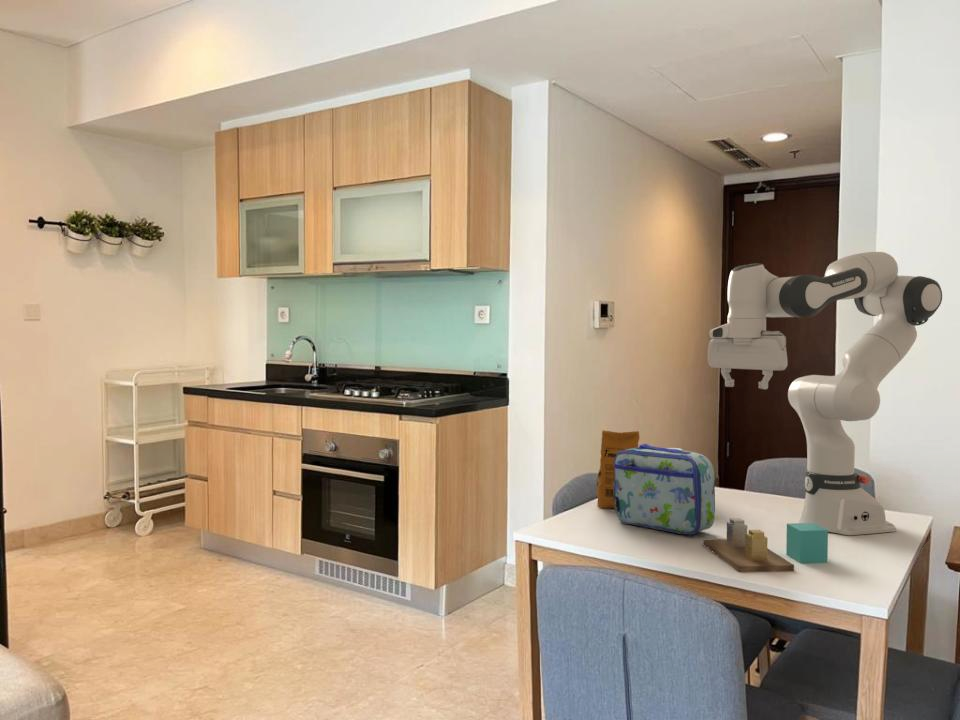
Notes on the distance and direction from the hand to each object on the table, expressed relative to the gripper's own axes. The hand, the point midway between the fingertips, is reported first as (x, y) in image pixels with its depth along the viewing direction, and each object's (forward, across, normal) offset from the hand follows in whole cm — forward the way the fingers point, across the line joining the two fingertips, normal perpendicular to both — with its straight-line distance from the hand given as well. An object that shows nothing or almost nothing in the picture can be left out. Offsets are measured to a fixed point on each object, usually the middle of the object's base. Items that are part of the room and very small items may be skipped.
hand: (746, 387), depth 180 cm
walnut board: (+37, -10, +13) cm, 40 cm away
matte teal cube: (+37, -18, +3) cm, 41 cm away
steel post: (+36, -5, +10) cm, 37 cm away
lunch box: (+37, +18, +9) cm, 42 cm away
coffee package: (+37, +42, +1) cm, 56 cm away
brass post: (+36, -14, +15) cm, 41 cm away
